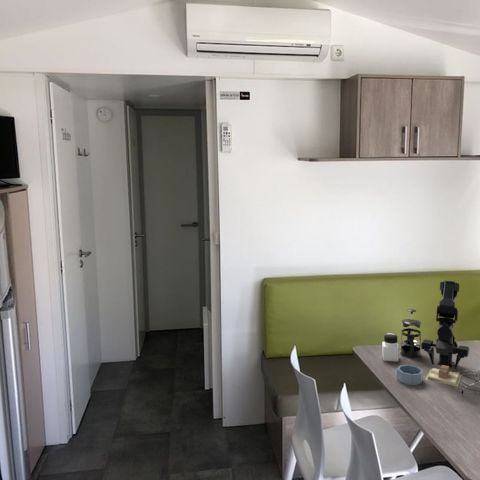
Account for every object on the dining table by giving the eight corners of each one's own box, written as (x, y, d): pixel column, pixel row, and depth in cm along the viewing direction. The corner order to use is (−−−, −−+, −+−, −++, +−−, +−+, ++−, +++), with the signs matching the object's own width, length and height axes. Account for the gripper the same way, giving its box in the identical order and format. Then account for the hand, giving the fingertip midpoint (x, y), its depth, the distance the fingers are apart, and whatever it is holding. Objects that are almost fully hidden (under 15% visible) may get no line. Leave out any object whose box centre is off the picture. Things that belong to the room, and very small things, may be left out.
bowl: (401, 373, 213) (401, 363, 212) (424, 378, 207) (424, 367, 206) (394, 382, 204) (395, 371, 204) (419, 387, 199) (419, 376, 198)
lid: (432, 369, 215) (433, 361, 214) (459, 375, 209) (459, 366, 208) (427, 379, 206) (428, 370, 205) (455, 384, 200) (455, 376, 199)
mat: (431, 369, 216) (431, 368, 216) (462, 375, 209) (462, 374, 209) (424, 380, 206) (424, 379, 206) (457, 387, 199) (457, 386, 199)
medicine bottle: (398, 361, 226) (399, 337, 224) (383, 360, 227) (383, 337, 225) (397, 356, 233) (397, 332, 231) (381, 355, 234) (382, 331, 232)
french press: (422, 359, 228) (423, 313, 224) (401, 358, 230) (403, 312, 226) (418, 350, 239) (420, 306, 236) (398, 349, 241) (400, 305, 238)
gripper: (418, 334, 203) (417, 368, 205) (466, 342, 193) (464, 378, 195) (424, 326, 212) (423, 359, 215) (470, 333, 202) (468, 368, 204)
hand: (444, 366), depth 207 cm, fingers open, 9 cm apart
